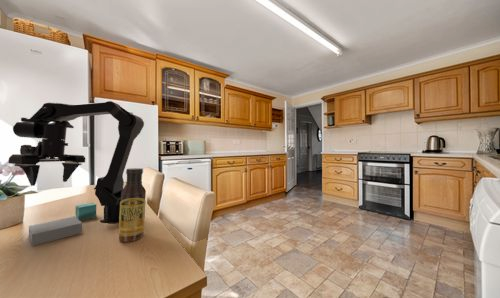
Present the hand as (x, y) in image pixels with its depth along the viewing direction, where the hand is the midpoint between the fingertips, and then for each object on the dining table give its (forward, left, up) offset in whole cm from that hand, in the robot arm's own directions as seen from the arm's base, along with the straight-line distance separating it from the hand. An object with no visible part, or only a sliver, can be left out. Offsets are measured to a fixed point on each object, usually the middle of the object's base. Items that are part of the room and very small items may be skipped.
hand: (49, 183), depth 66 cm
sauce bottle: (-38, +6, -14) cm, 41 cm away
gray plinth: (-13, +7, -14) cm, 20 cm away
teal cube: (-7, -6, -14) cm, 17 cm away
